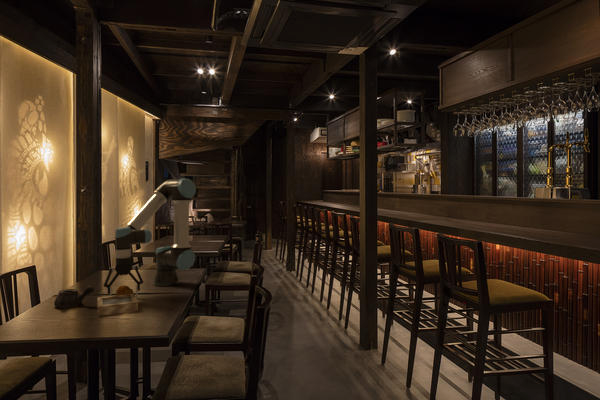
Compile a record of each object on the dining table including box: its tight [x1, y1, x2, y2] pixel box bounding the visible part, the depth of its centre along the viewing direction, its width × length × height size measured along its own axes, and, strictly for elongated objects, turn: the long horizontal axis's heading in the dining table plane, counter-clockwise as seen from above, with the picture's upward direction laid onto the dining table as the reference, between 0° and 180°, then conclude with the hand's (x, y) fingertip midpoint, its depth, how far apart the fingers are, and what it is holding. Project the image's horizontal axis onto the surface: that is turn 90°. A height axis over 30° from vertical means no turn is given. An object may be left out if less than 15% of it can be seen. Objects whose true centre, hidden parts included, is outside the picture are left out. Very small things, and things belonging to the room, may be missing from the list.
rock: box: [114, 285, 135, 296], centre depth 216 cm, size 11×8×10 cm
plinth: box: [97, 293, 139, 317], centre depth 199 cm, size 17×19×4 cm
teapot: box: [53, 285, 95, 309], centre depth 204 cm, size 19×15×10 cm
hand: (124, 298), depth 215 cm, fingers open, 12 cm apart
